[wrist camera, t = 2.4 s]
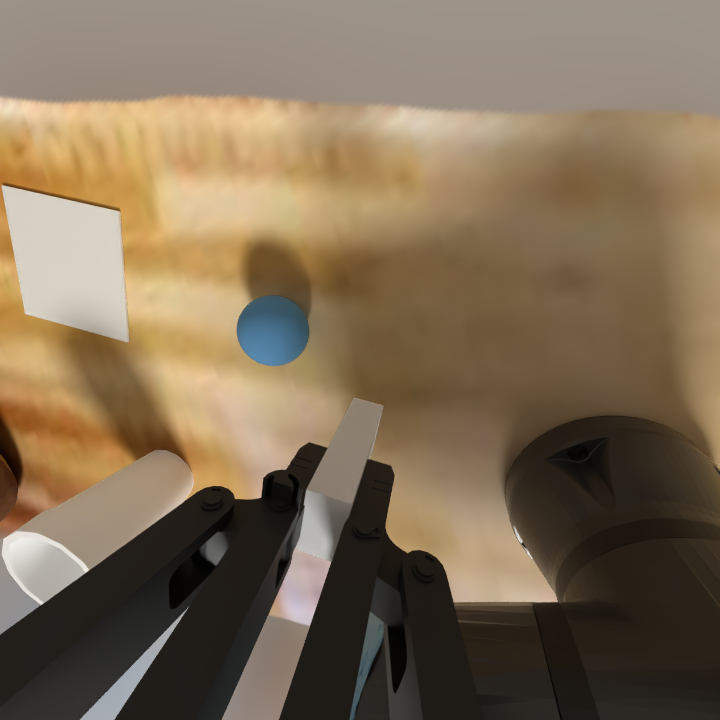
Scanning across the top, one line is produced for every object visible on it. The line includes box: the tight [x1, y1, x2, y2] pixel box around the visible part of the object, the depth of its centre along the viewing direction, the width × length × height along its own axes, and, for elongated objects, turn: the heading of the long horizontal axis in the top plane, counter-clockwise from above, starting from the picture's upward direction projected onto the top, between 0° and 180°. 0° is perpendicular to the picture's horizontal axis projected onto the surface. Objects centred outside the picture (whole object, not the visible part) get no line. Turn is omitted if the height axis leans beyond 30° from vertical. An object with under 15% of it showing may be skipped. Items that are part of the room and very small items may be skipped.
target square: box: [2, 185, 129, 342], centre depth 33 cm, size 12×12×1 cm
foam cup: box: [2, 450, 194, 605], centre depth 34 cm, size 10×9×13 cm
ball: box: [237, 295, 309, 366], centre depth 28 cm, size 6×6×6 cm
